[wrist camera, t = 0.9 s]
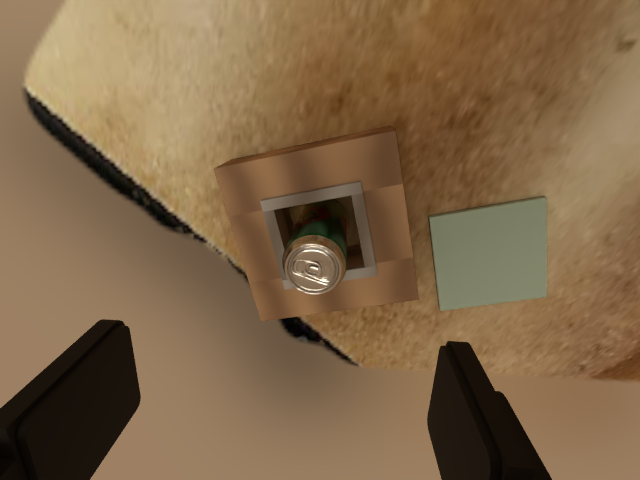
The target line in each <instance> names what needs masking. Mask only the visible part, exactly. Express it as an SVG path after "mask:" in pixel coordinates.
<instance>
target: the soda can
mask: <svg viewBox="0 0 640 480" xmlns="http://www.w3.org/2000/svg"><path fill="white" fill-rule="evenodd" d="M348 230H349V219H348V215H347V212H346V210H345V209H344V207H343V206H342V205H341V204H340V203H338V202H337V201H334V200H332V199H329V200H324V201H318V202H313V203H308V204H307V205H306V206H305V208H304V209H303V211H302V213H301V215H300V217H299V220H298V222H297V224H296V226H295V229H294V231H293V233H292V235H291V237H290V240H289V242H288V244H287V246H286V249H285V251H284V253H283V257H282V265H283V270H284V273H285V275H286V277H287V279H288V281H289V282H290V284H291V285H292V286H293V287H294V288H295V289H297V290H298V291H300V292H302V293H305V294H309V295H320V294H324V293H326V292H329V291H330V290H332V289H333V288H334V287H335V286H337V285H338V284H339V283H340V282H341V280H342V279H343V277H344V275H345V273H346V269H347V254H348Z"/></svg>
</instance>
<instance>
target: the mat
mask: <svg viewBox="0 0 640 480" xmlns="http://www.w3.org/2000/svg"><path fill="white" fill-rule="evenodd" d="M428 218H429V226H430V235H431V243H432V252H433V260H434V269H435V277H436V285H437V294H438V302H439V309H440V311H444V310H451V309H459V308H466V307H474V306H481V305H489V304H496V303H504V302H512V301H519V300H527V299H534V298H542V297H547V198H546V197H545V196H540V197H534V198H529V199H523V200H517V201H511V202H506V203H500V204H494V205H488V206H482V207H477V208H471V209H465V210H459V211H454V212H448V213H442V214H436V215H430V216H428Z"/></svg>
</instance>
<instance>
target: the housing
mask: <svg viewBox="0 0 640 480" xmlns="http://www.w3.org/2000/svg"><path fill="white" fill-rule="evenodd" d="M214 172H215V175H216V178H217V182H218V185H219V188H220V191H221V194H222V198H223V201H224V204H225V207H226V210H227V213H228V217H229V220H230V223H231V226H232V229H233V233H234V236H235V239H236V242H237V245H238V249H239V252H240V255H241V258H242V261H243V264H244V268H245V271H246V274H247V277H248V280H249V284H250V287H251V290H252V293H253V296H254V300H255V303H256V306H257V309H258V312H259V315H260V319H261V321H268V320H275V319H282V318H289V317H297V316H304V315H311V314H318V313H325V312H332V311H340V310H347V309H354V308H361V307H368V306H376V305H383V304H390V303H397V302H404V301H412V300H419V296H418V289H417V281H416V274H415V267H414V260H413V252H412V245H411V238H410V231H409V224H408V216H407V209H406V202H405V195H404V187H403V180H402V173H401V166H400V158H399V151H398V144H397V137H396V130H394V129H393V128H392V127H391V126H387V127H382V128H378V129H373V130H368V131H364V132H359V133H354V134H350V135H345V136H340V137H335V138H331V139H326V140H321V141H317V142H312V143H307V144H303V145H298V146H293V147H289V148H284V149H279V150H274V151H270V152H265V153H260V154H256V155H251V156H246V157H242V158H237V159H232V160H230V161H228V162H226V163H224V164H222V165H220V166H218V167H216V168H214ZM350 195H351V197H352V202H353V208H354V213H355V218H356V223H357V229H358V234H359V239H360V244H361V246H355V247H349V248H348V254H347V269H346V273H345V275H344V277H343V279H342V280H341V282H340V283H339V284H338V285H337V286H335V287H334V288H333V289H332V290H330V291H329V292H326V293H324V294H320V295H309V294H305V293H302V292H300V291H298V290H297V289H295V288H294V287H293V286H292V285H291V284H290V282H289V281H288V279H287V277H286V275H285V273H284V270H283V265H282V257H283V253H284V251H285V249H286V246H287V244H288V242H289V240H290V237H291V235H292V233H293V231H294V229H293V225H292V221H291V218H290V214H289V210H288V207H292V206H297V205H302V204H308V203H313V202H318V201H324V200H329V199H334V198H340V197H345V196H350Z"/></svg>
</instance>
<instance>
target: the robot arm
mask: <svg viewBox="0 0 640 480" xmlns="http://www.w3.org/2000/svg"><path fill="white" fill-rule="evenodd" d="M140 398H141V397H140V390H139V383H138V378H137V372H136V365H135V359H134V353H133V347H132V342H131V335H130V330H129V328H128V326H125V324H124V323H123V321H120V320H100V321H98V322H97V323H96V324H95V325H94V326H93V327H92V328H90V329H89V330H88V331H87V332H86V333H85V334H84V335H83V336H81V337H80V338H79V339H78V340H77V341H76V342H75V343H73V344H72V345H71V346H70V347H69V348H68V349H67V350H66V351H64V352H63V353H62V354H61V355H60V356H59V357H58V358H57V359H55V360H54V361H53V362H52V363H51V364H50V365H49V366H48V367H47V368H46V369H44V370H43V371H42V372H41V373H40V374H39V375H37V376H36V377H35V378H34V379H33V380H32V381H31V382H30V383H29V384H27V385H26V386H25V387H24V388H23V389H22V390H21V391H20V392H18V393H17V394H16V395H15V396H14V397H13V398H12V399H11V400H9V401H8V402H7V403H6V404H5V405H4V406H3V407H2V408H0V480H90V479H91V477H92V476H93V474H94V472H95V471H96V469H97V468H98V467H99V465H100V464H101V462H102V460H103V459H104V458H105V456H106V455H107V453H108V452H109V450H110V449H111V447H112V446H113V444H114V443H115V441H116V440H117V438H118V437H119V435H120V434H121V432H122V431H123V429H124V428H125V426H126V425H127V423H128V422H129V420H130V419H131V417H132V416H133V414H134V413H135V412H136V410H137V408H138V406H139V403H140ZM427 420H428V421H427V422H428V430H429V434H430V438H431V441H432V445H433V449H434V453H435V456H436V460H437V464H438V467H439V471H440V475H441V479H442V480H552V479H551V477H550V475H549V473H548V472H547V470H546V468H545V466H544V464H543V463H542V461H541V459H540V457H539V456H538V454H537V452H536V450H535V448H534V447H533V445H532V443H531V441H530V440H529V438H528V436H527V434H526V432H525V431H524V429H523V427H522V425H521V424H520V422H519V420H518V418H517V416H516V415H515V413H514V411H513V409H512V408H511V406H510V404H509V402H508V400H507V399H506V397H505V396H504V394H503V393H501V392H500V391H495V390H494V388H493V386H492V384H491V383H490V381H489V379H488V377H487V375H486V373H485V371H484V369H483V368H482V366H481V364H480V362H479V360H478V358H477V356H476V355H475V353H474V351H473V349H472V347H471V345H470V344H469V343H468V342H455V341H448V342H447V344H446V346H441V347H440V350H439V355H438V360H437V366H436V372H435V377H434V383H433V389H432V394H431V400H430V406H429V411H428V418H427Z"/></svg>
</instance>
